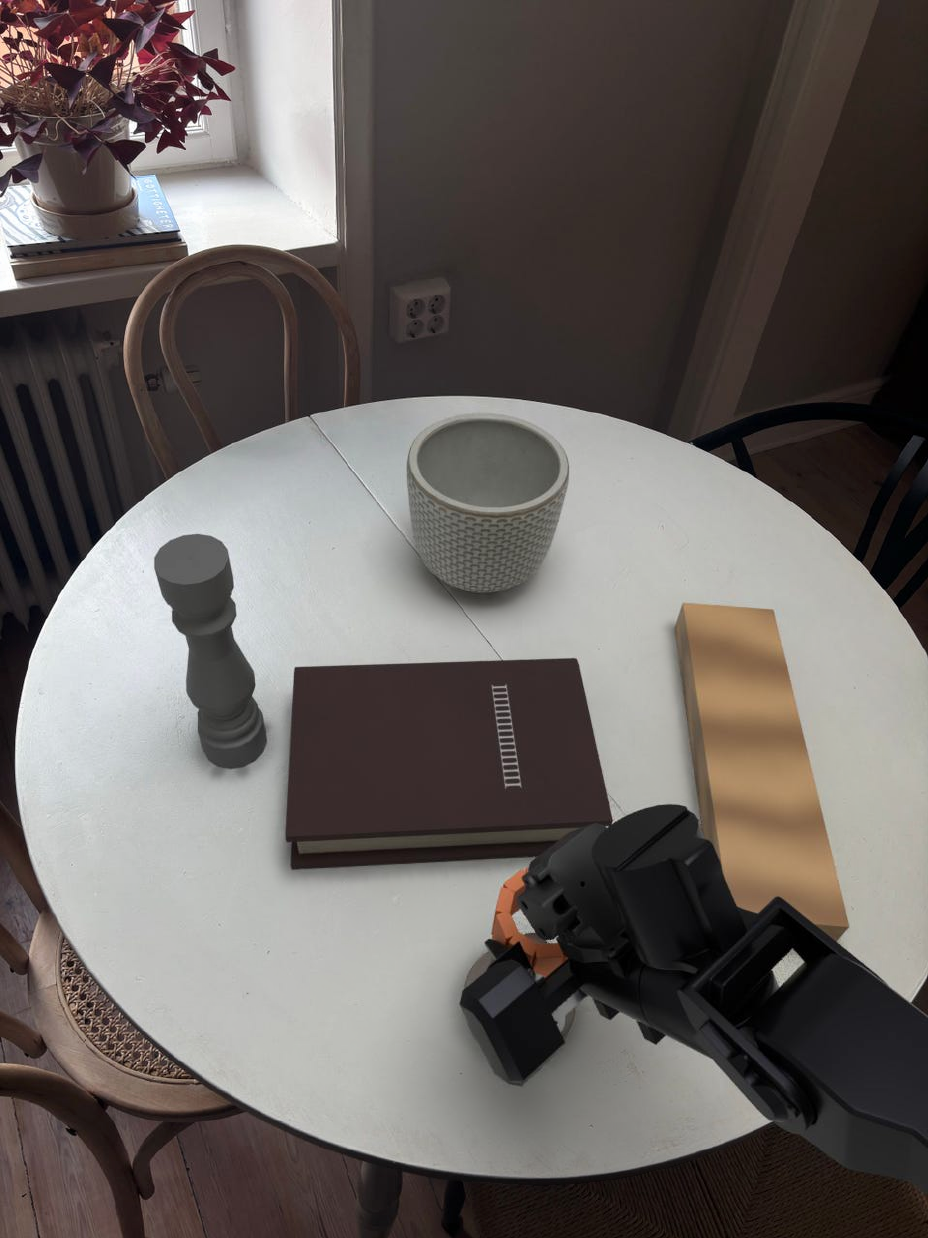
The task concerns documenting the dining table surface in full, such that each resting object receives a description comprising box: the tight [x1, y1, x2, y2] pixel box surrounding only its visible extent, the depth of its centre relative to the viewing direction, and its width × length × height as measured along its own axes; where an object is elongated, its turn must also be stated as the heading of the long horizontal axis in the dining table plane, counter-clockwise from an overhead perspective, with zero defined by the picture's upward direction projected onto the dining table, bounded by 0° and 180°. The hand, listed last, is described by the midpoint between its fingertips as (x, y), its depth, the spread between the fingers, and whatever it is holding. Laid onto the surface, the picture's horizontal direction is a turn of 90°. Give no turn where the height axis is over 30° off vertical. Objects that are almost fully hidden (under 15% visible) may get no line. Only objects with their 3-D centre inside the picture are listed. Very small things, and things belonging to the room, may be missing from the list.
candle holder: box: [153, 533, 268, 770], centre depth 79 cm, size 6×6×25 cm
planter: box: [406, 412, 570, 594], centre depth 101 cm, size 17×17×16 cm
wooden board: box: [674, 602, 850, 943], centre depth 88 cm, size 36×10×4 cm, turn 177°
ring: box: [490, 867, 568, 978], centre depth 62 cm, size 6×7×4 cm
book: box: [284, 657, 614, 870], centre depth 86 cm, size 28×20×6 cm
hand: (526, 916), depth 64 cm, fingers closed on ring, 6 cm apart
